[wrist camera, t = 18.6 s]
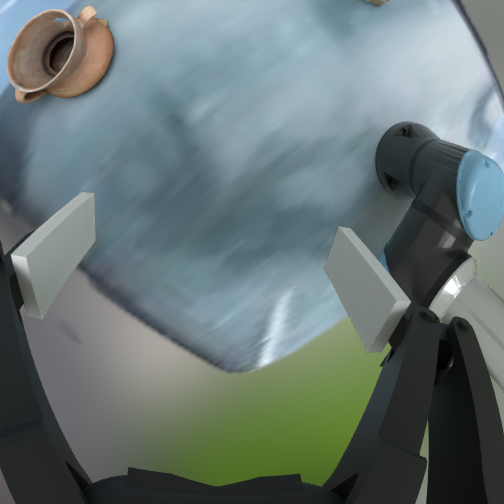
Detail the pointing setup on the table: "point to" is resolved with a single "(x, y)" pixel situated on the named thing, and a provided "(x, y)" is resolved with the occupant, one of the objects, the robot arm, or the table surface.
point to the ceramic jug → (59, 55)
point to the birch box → (378, 2)
